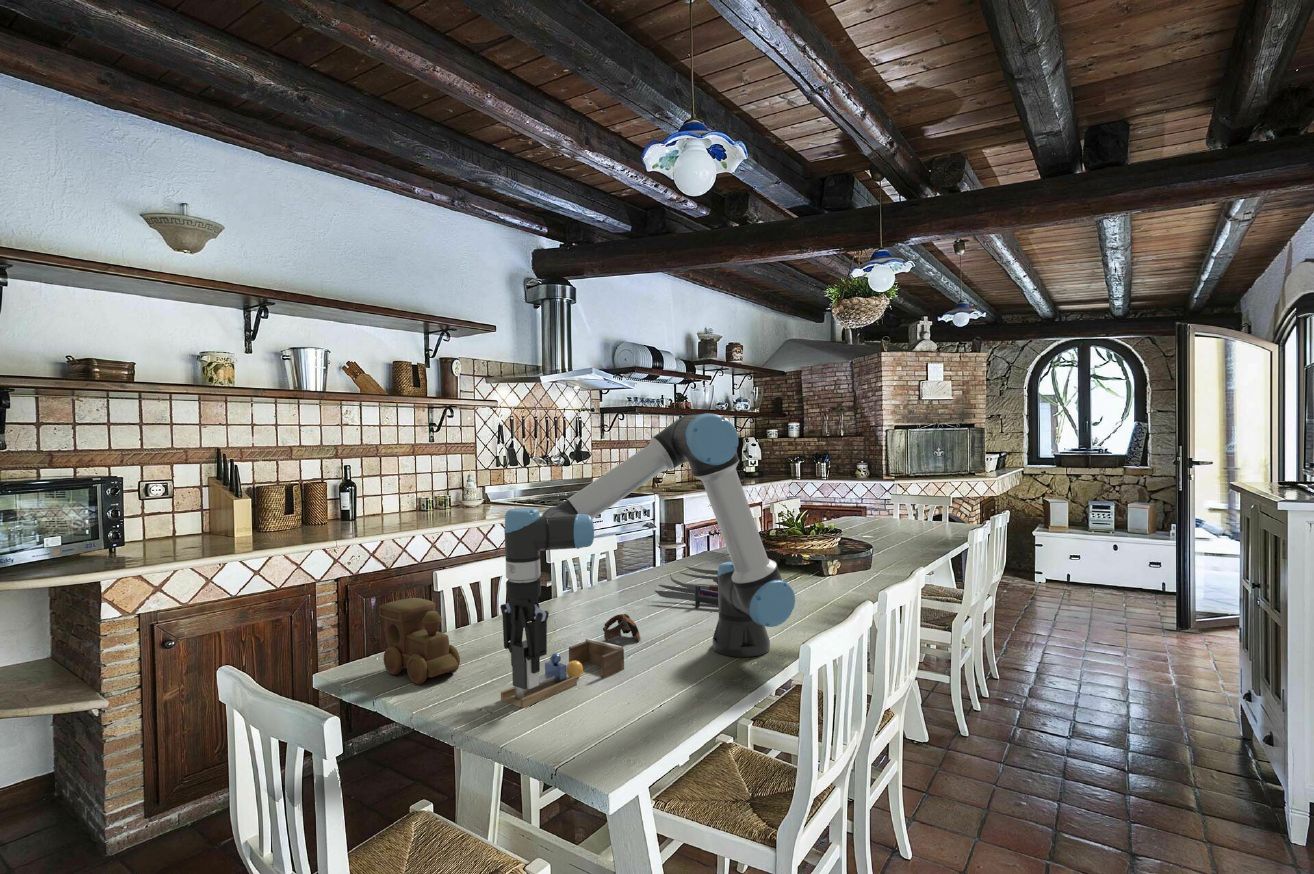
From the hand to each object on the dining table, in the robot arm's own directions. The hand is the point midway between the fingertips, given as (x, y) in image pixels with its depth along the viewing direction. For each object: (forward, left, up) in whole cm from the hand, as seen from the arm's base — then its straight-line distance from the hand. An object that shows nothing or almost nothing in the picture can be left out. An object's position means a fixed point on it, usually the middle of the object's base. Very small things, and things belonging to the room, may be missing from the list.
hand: (525, 684), depth 152 cm
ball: (0, -15, -1) cm, 15 cm away
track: (0, -4, -3) cm, 5 cm away
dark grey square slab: (0, -4, -3) cm, 5 cm away
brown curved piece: (+10, -43, -3) cm, 45 cm away
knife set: (+17, -98, -3) cm, 100 cm away
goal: (0, -22, -3) cm, 22 cm away
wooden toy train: (+33, +5, -3) cm, 34 cm away
